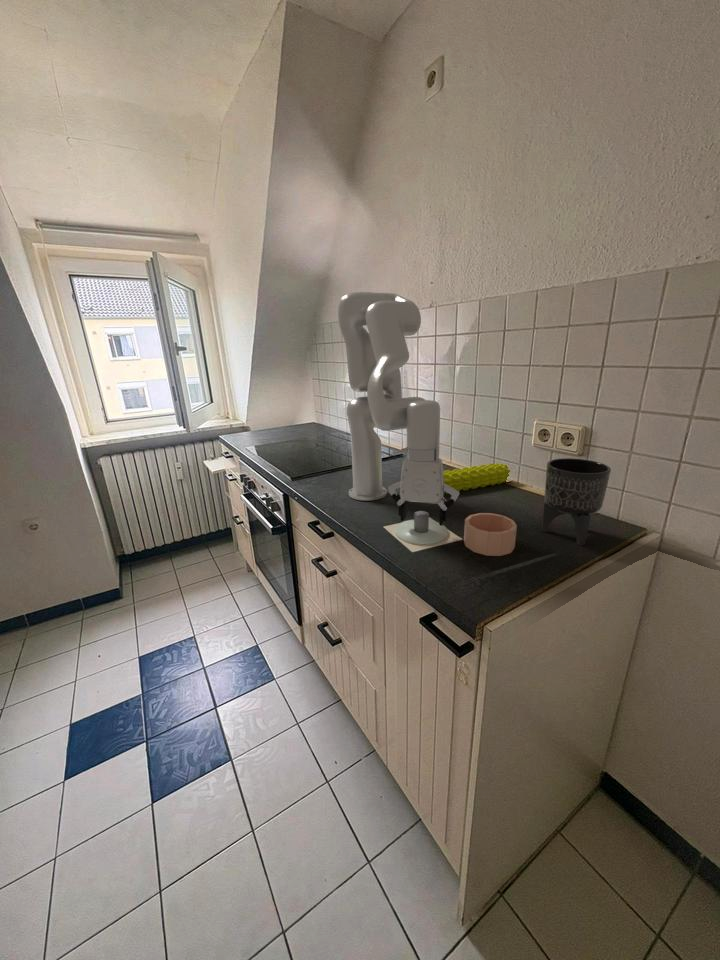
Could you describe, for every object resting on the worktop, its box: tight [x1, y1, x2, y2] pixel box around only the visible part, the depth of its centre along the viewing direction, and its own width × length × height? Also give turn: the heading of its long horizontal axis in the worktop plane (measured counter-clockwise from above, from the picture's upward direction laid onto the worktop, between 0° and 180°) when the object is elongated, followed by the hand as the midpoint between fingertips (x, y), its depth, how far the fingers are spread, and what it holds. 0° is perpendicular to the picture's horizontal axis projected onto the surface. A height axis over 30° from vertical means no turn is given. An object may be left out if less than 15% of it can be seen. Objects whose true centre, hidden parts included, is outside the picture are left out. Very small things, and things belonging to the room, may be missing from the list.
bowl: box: [463, 512, 518, 557], centre depth 88 cm, size 11×11×6 cm
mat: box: [383, 516, 464, 553], centre depth 95 cm, size 15×14×1 cm
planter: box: [541, 457, 612, 546], centre depth 90 cm, size 13×13×18 cm
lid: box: [395, 510, 449, 545], centre depth 94 cm, size 13×13×5 cm
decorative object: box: [443, 462, 510, 495], centre depth 126 cm, size 7×33×7 cm, turn 111°
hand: (422, 521), depth 93 cm, fingers open, 9 cm apart
